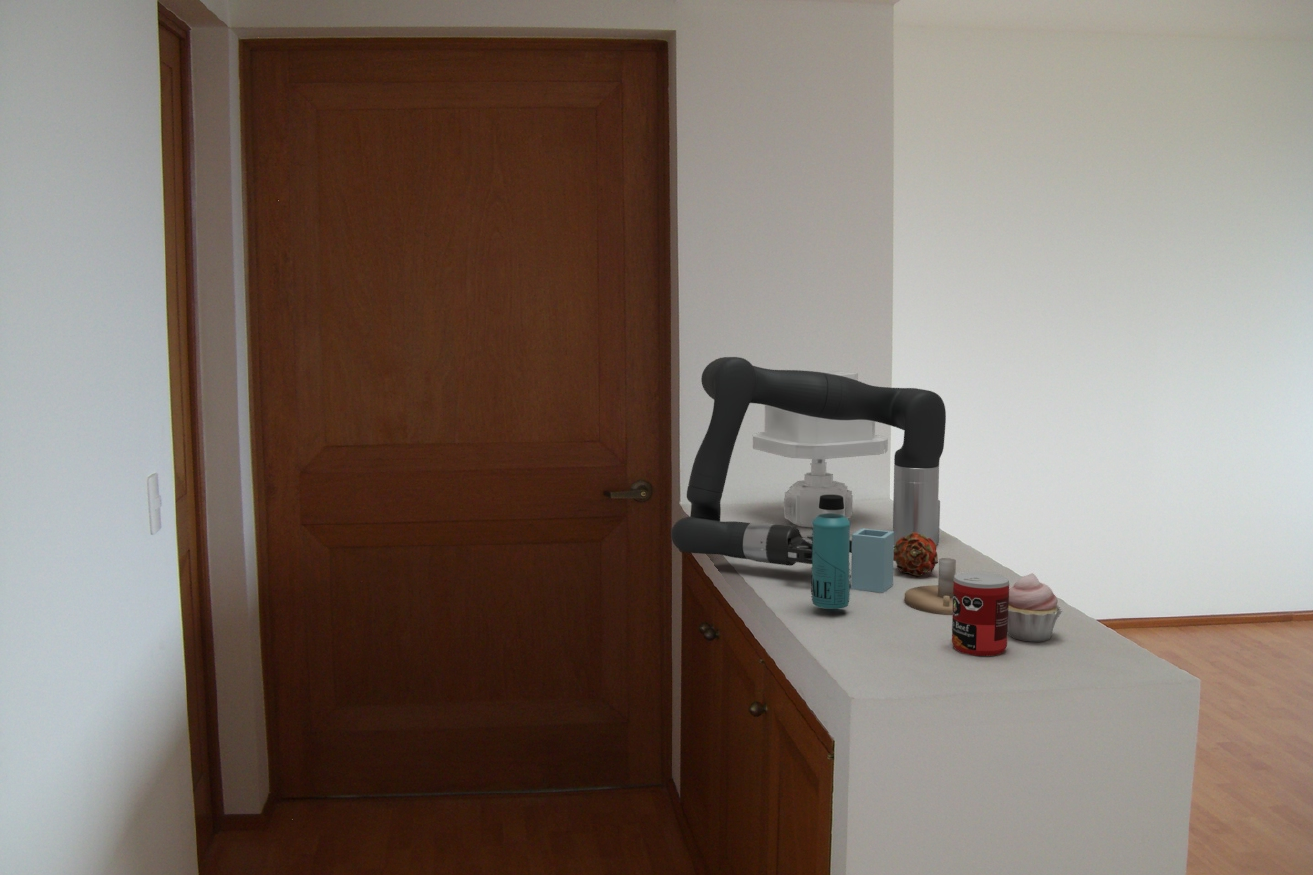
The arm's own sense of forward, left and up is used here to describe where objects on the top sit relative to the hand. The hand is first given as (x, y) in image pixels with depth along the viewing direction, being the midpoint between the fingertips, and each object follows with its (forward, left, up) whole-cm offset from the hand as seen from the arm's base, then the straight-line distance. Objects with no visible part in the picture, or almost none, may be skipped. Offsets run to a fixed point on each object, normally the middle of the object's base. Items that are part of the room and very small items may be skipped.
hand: (853, 552), depth 196 cm
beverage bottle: (+17, +8, -6) cm, 20 cm away
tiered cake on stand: (-37, -40, -6) cm, 55 cm away
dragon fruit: (-15, +2, -6) cm, 17 cm away
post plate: (-2, +18, -6) cm, 19 cm away
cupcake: (+4, +37, -6) cm, 38 cm away
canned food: (+15, +35, -6) cm, 39 cm away
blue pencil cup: (-1, +3, -6) cm, 7 cm away
